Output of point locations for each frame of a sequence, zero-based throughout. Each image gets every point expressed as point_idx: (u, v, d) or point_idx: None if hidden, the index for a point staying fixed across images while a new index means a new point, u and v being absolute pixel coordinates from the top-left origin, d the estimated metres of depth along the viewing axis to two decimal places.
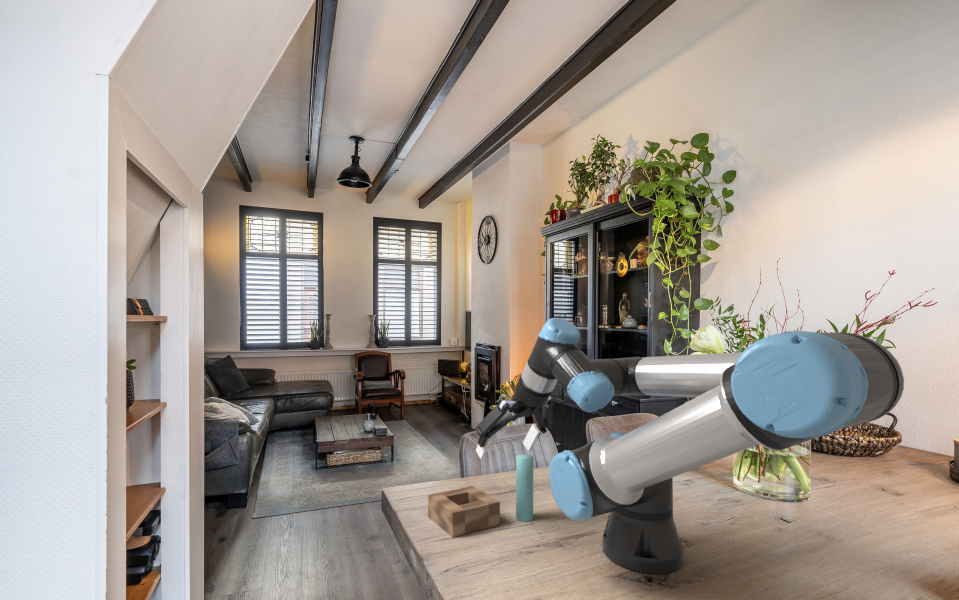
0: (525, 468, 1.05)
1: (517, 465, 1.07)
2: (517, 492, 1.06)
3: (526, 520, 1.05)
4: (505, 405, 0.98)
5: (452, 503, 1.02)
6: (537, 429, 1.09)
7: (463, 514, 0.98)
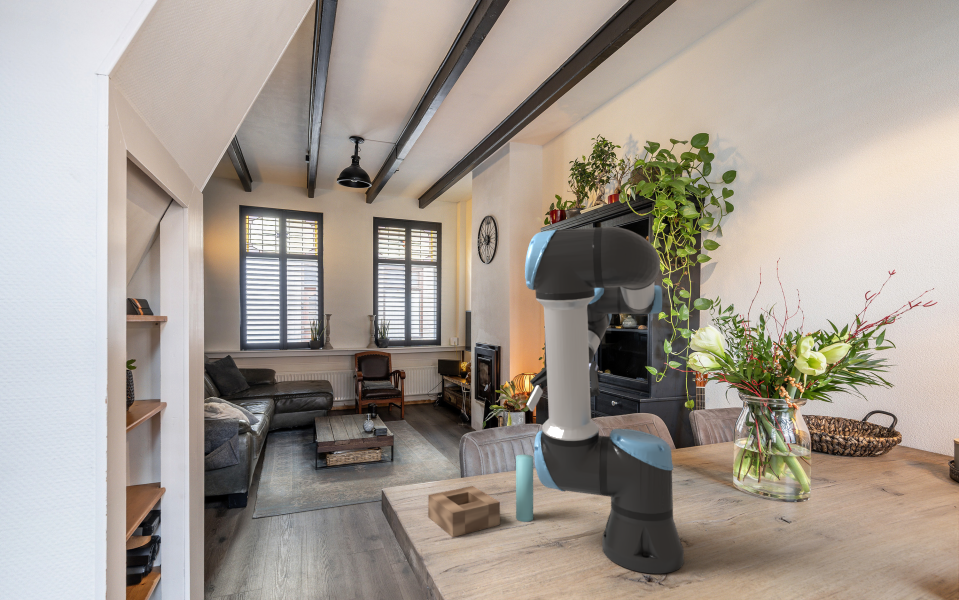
0: (525, 468, 1.05)
1: (517, 465, 1.07)
2: (517, 492, 1.06)
3: (526, 520, 1.05)
4: None
5: (452, 503, 1.02)
6: None
7: (463, 514, 0.98)
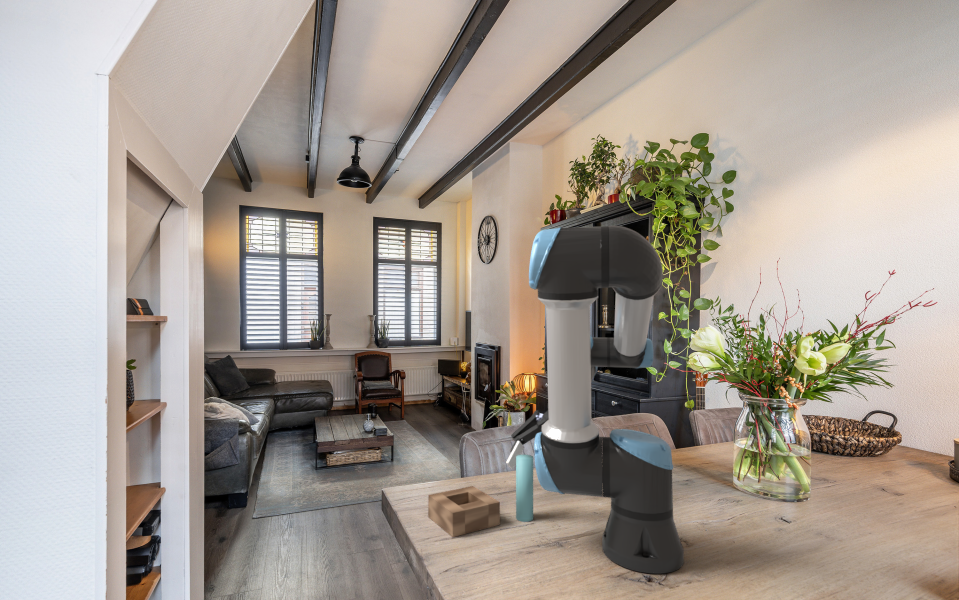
0: (525, 468, 1.05)
1: (517, 465, 1.07)
2: (517, 492, 1.06)
3: (526, 520, 1.05)
4: None
5: (452, 503, 1.02)
6: None
7: (463, 514, 0.98)
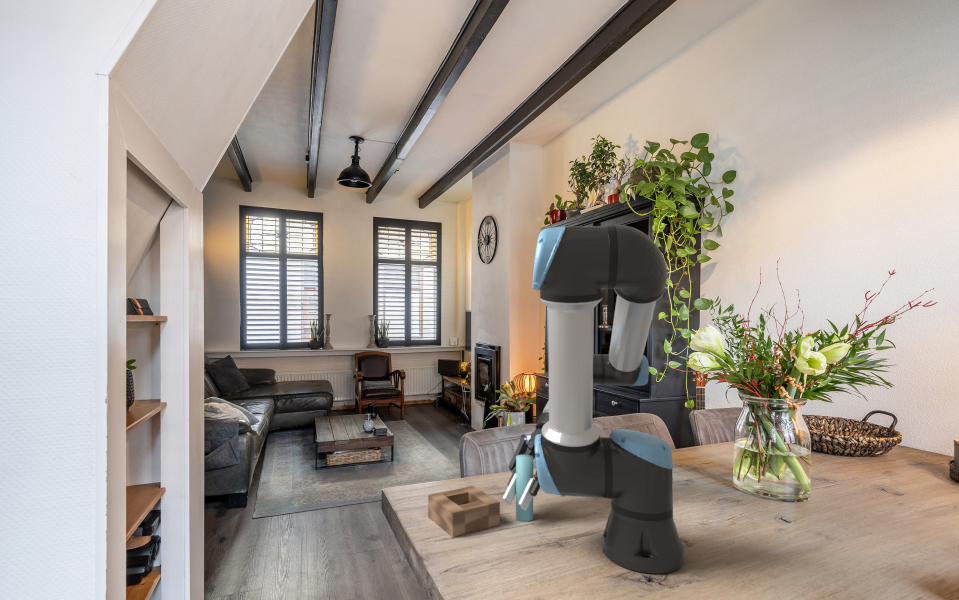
0: (525, 468, 1.05)
1: (517, 465, 1.07)
2: (517, 492, 1.06)
3: (526, 520, 1.05)
4: None
5: (452, 503, 1.02)
6: None
7: (463, 514, 0.98)
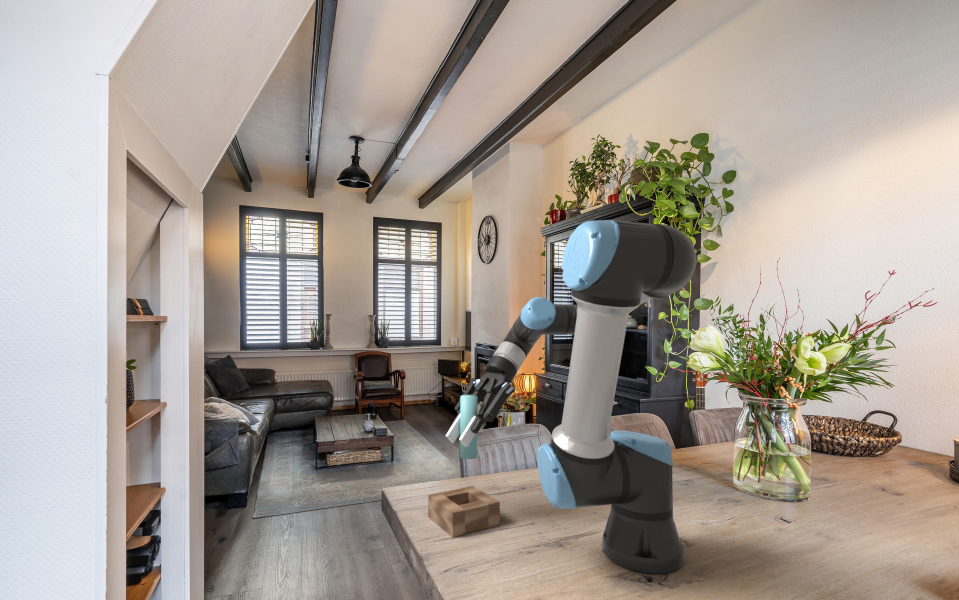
0: (468, 406, 1.06)
1: (461, 404, 1.07)
2: (460, 431, 1.07)
3: (469, 457, 1.05)
4: None
5: (452, 503, 1.02)
6: None
7: (463, 514, 0.98)
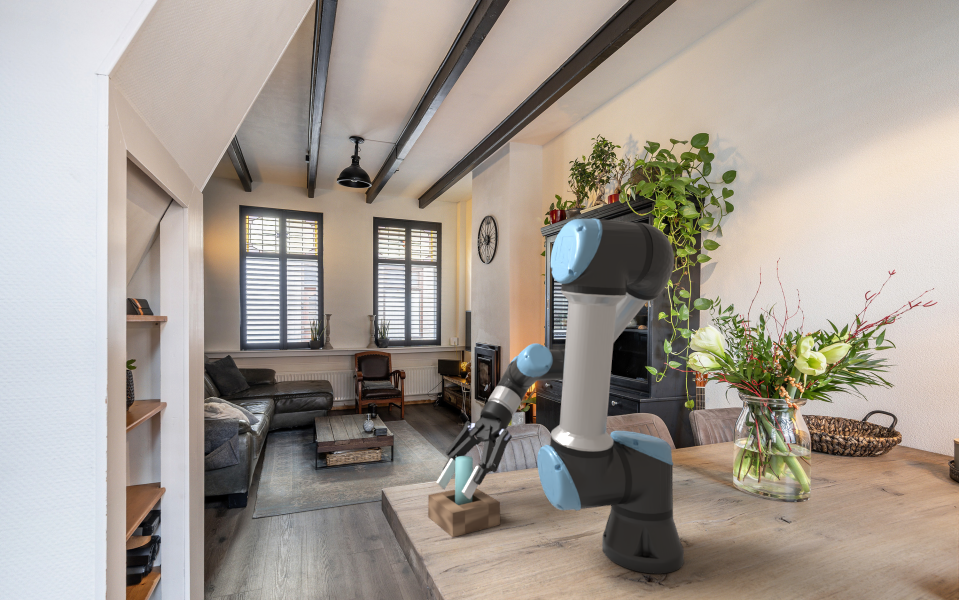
0: (463, 470, 1.04)
1: (456, 467, 1.05)
2: (455, 494, 1.05)
3: None
4: None
5: (452, 503, 1.02)
6: None
7: (463, 514, 0.98)
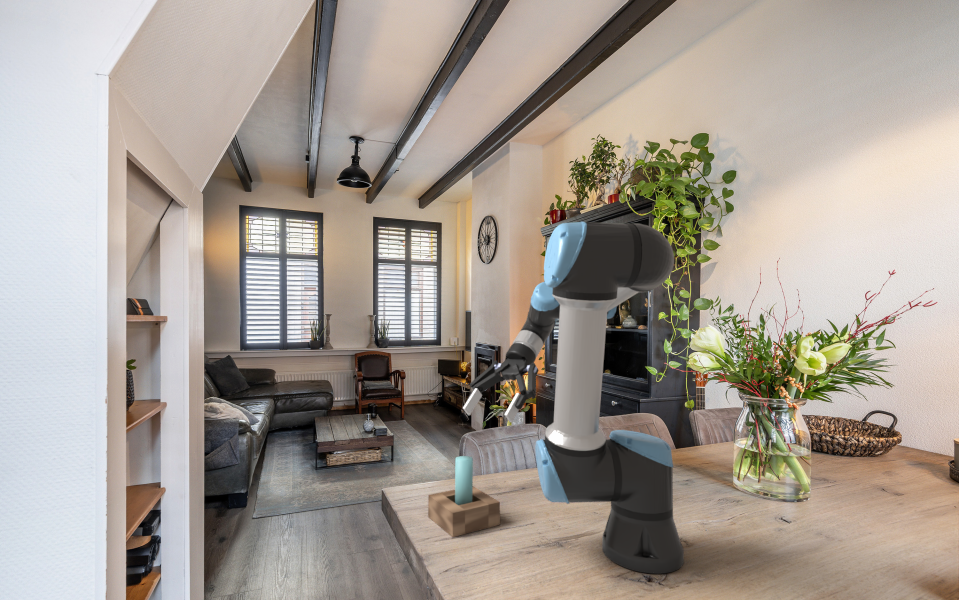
0: (463, 470, 1.04)
1: (456, 467, 1.05)
2: (455, 494, 1.05)
3: None
4: None
5: (452, 503, 1.02)
6: None
7: (463, 514, 0.98)
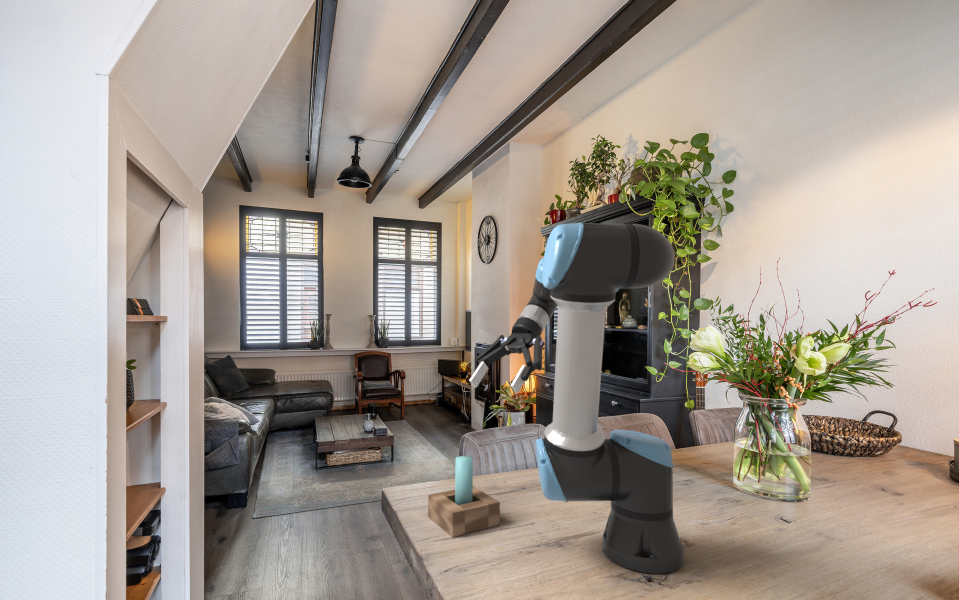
0: (463, 470, 1.04)
1: (456, 467, 1.05)
2: (455, 494, 1.05)
3: None
4: None
5: (452, 503, 1.02)
6: None
7: (463, 514, 0.98)
